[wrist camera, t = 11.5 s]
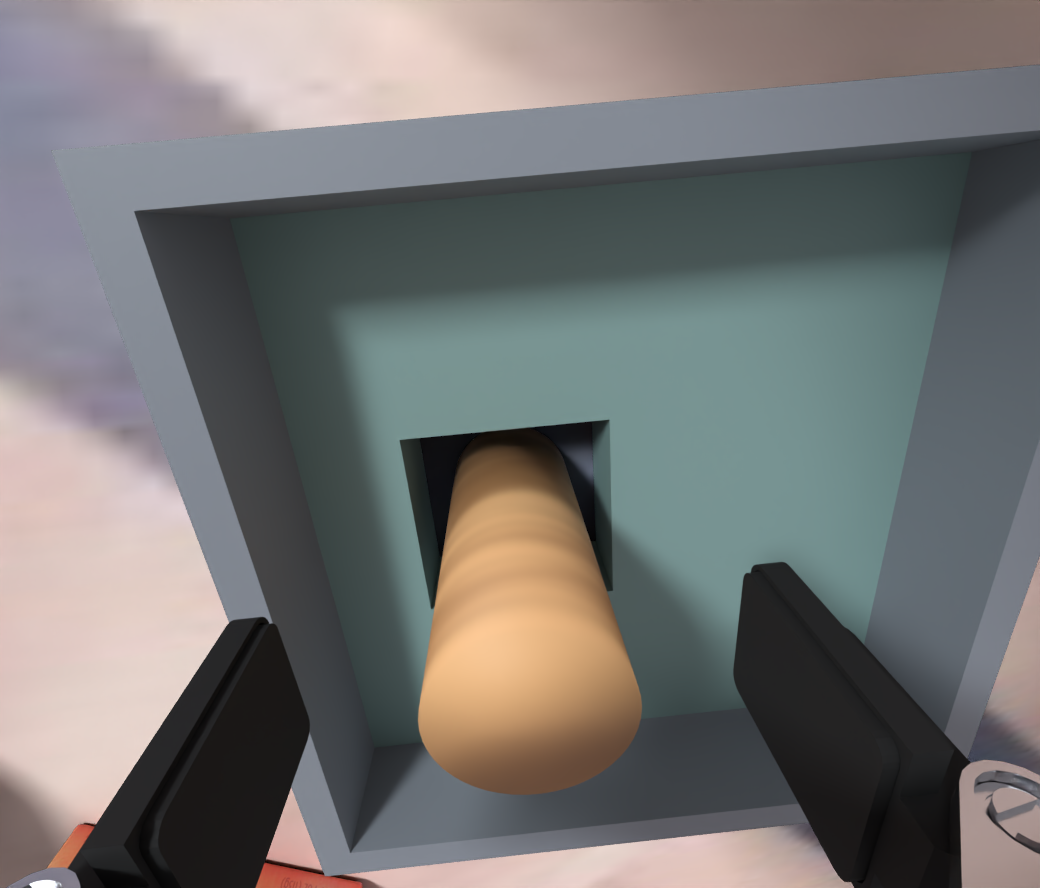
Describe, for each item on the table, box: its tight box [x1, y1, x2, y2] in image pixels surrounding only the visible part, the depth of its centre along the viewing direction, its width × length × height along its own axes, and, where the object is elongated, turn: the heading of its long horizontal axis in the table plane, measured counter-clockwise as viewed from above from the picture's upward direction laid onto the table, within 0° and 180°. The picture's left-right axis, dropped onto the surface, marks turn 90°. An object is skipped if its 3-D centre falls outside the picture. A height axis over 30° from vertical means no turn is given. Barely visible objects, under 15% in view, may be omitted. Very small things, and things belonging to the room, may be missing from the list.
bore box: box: [51, 65, 1040, 876], centre depth 15 cm, size 20×20×6 cm
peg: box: [418, 427, 642, 795], centre depth 14 cm, size 4×4×10 cm
